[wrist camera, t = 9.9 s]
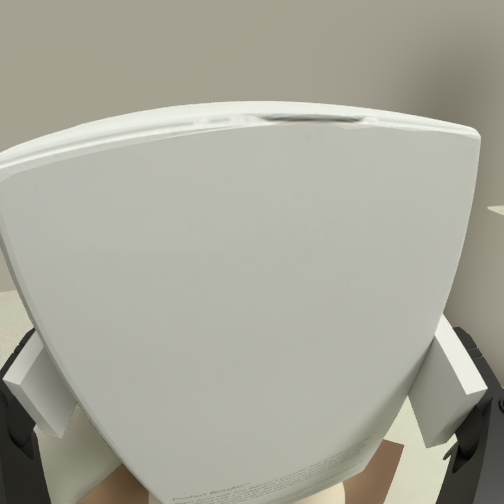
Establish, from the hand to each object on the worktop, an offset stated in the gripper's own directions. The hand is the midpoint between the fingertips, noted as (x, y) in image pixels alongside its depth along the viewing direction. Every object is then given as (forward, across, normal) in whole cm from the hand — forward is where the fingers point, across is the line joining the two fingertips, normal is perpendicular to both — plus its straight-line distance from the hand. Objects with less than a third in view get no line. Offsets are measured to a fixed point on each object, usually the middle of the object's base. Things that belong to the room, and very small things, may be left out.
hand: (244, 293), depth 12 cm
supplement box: (-2, 0, -8) cm, 8 cm away
